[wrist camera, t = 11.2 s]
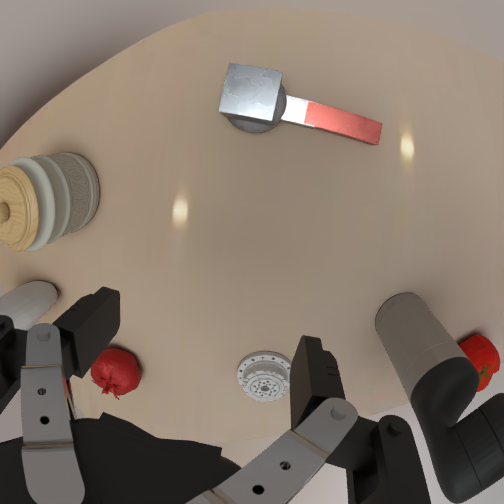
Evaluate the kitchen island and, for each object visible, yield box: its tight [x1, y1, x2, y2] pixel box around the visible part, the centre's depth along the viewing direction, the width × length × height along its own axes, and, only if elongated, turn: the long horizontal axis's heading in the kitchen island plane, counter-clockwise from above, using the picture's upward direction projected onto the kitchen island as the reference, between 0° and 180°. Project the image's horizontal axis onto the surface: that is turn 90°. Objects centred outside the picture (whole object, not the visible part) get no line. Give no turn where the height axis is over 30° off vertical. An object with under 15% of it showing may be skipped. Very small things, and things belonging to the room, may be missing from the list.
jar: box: [0, 153, 99, 252], centre depth 33 cm, size 13×13×18 cm
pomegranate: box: [91, 348, 141, 399], centre depth 48 cm, size 10×10×9 cm
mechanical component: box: [237, 351, 292, 402], centre depth 48 cm, size 10×4×10 cm
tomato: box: [459, 335, 500, 392], centre depth 42 cm, size 11×12×9 cm
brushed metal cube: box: [218, 63, 283, 126], centre depth 30 cm, size 6×6×6 cm
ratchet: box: [228, 84, 382, 145], centre depth 33 cm, size 20×8×7 cm, turn 78°
